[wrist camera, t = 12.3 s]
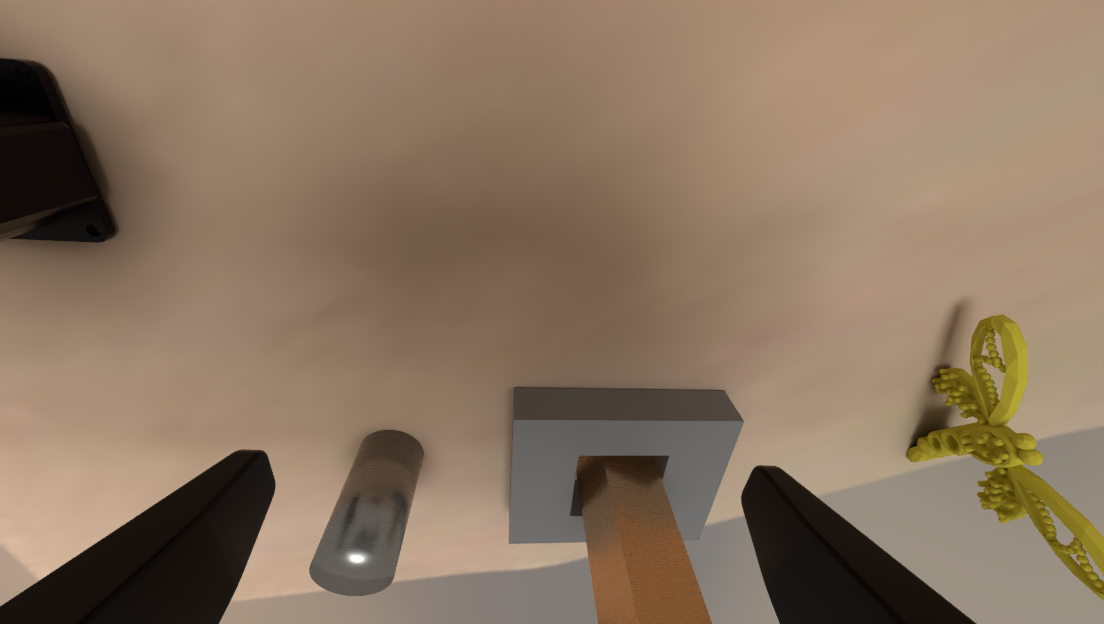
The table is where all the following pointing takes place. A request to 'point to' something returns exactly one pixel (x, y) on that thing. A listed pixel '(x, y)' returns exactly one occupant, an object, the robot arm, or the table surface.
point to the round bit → (369, 517)
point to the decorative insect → (1008, 447)
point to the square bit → (635, 545)
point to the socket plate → (615, 452)
